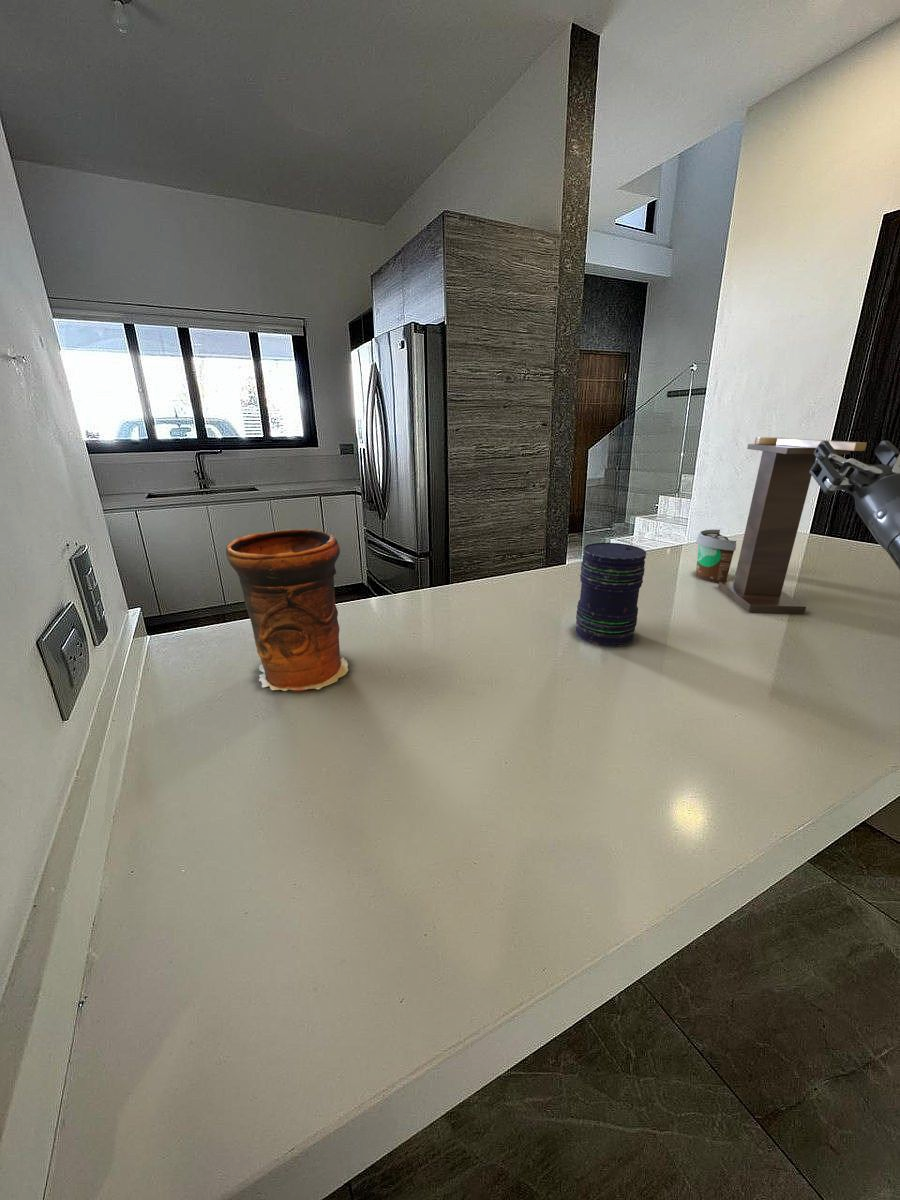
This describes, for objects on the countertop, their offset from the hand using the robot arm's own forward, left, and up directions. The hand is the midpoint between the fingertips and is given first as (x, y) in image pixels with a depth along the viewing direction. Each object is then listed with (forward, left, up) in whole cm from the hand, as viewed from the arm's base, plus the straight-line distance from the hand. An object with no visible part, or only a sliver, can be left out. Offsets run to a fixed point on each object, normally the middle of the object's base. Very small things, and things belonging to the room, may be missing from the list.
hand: (850, 445), depth 73 cm
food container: (-12, -27, -31) cm, 43 cm away
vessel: (+81, -25, -31) cm, 90 cm away
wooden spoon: (-6, -10, -1) cm, 11 cm away
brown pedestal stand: (-8, -12, -31) cm, 34 cm away
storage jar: (+32, -14, -31) cm, 47 cm away
